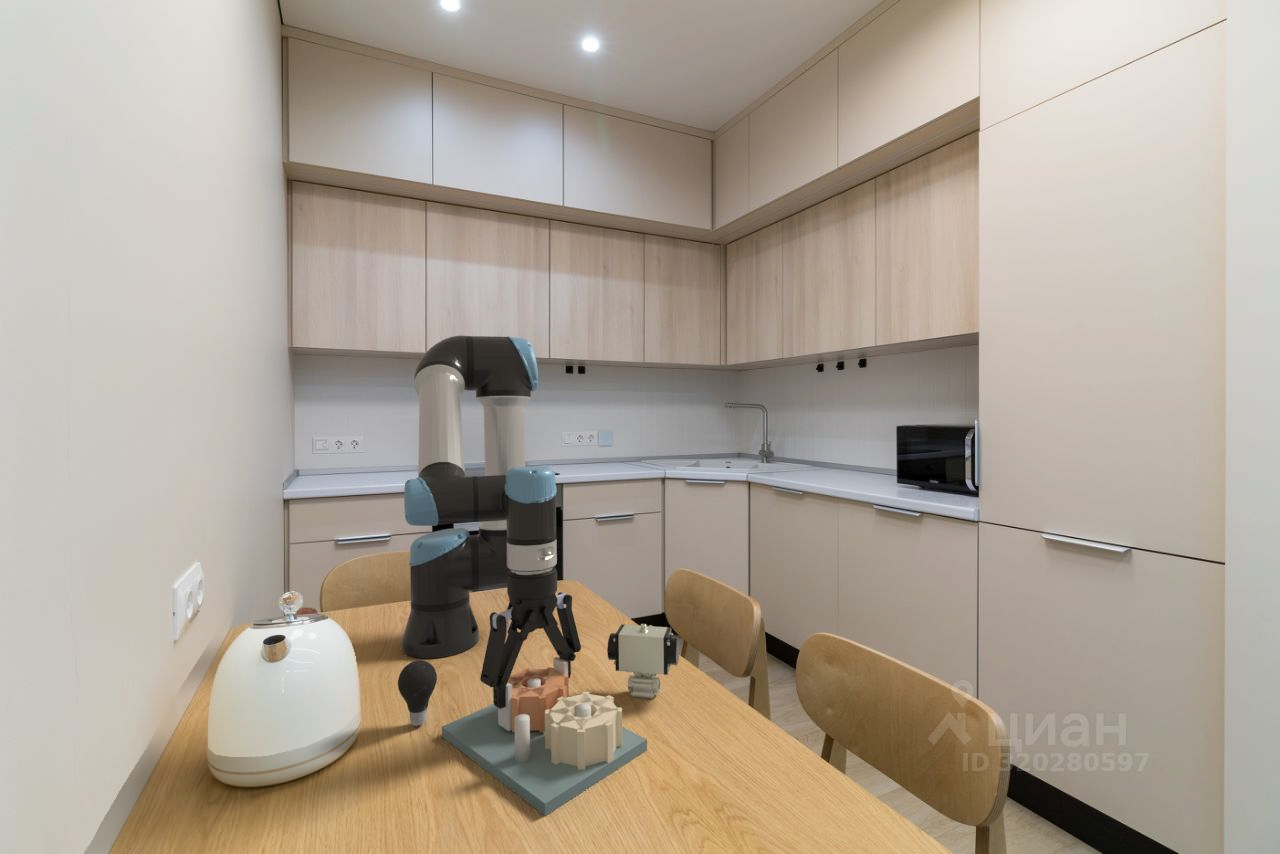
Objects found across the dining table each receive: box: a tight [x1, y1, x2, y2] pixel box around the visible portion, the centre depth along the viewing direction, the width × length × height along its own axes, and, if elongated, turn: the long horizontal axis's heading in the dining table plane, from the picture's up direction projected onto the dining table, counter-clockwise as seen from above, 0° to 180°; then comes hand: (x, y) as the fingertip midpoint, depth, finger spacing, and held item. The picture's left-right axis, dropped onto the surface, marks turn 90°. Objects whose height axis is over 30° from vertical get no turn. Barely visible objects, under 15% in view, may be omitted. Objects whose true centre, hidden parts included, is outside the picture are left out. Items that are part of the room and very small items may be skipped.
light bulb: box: [397, 659, 438, 728], centre depth 88 cm, size 6×6×10 cm
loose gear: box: [508, 666, 570, 733], centre depth 88 cm, size 10×10×5 cm
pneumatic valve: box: [606, 623, 681, 699], centre depth 98 cm, size 6×12×12 cm, turn 78°
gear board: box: [441, 678, 648, 816], centre depth 83 cm, size 25×18×7 cm
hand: (534, 712), depth 88 cm, fingers closed on loose gear, 10 cm apart
